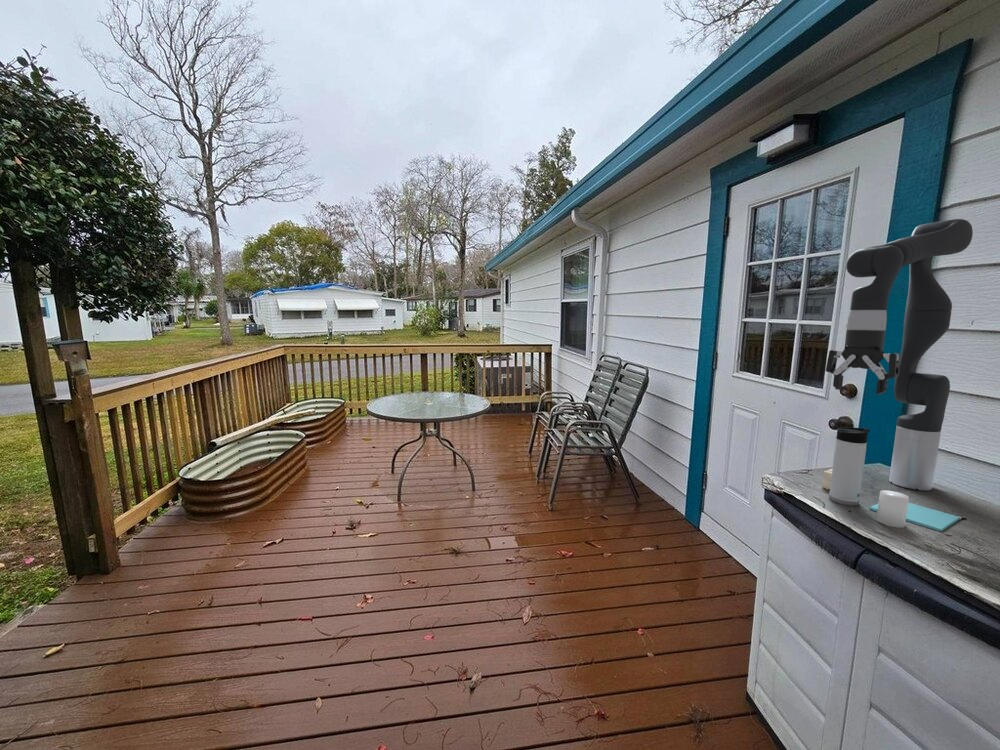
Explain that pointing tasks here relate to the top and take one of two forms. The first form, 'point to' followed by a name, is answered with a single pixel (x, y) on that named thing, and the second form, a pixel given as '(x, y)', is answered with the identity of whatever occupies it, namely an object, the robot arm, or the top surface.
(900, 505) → the white plastic capsule
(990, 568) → the top surface
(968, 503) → the top surface
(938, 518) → the teal mat
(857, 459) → the travel mug
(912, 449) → the robot arm
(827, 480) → the birch block
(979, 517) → the top surface
